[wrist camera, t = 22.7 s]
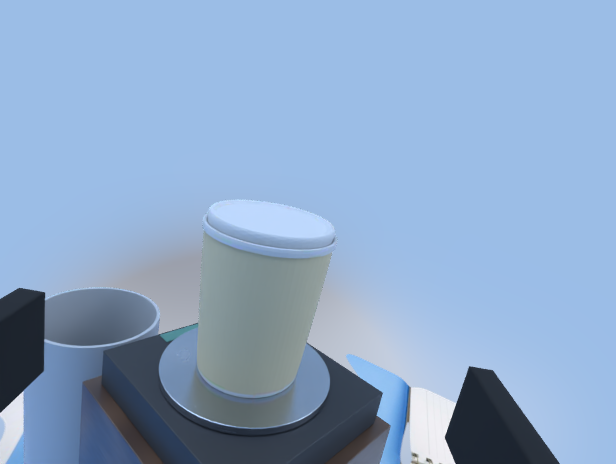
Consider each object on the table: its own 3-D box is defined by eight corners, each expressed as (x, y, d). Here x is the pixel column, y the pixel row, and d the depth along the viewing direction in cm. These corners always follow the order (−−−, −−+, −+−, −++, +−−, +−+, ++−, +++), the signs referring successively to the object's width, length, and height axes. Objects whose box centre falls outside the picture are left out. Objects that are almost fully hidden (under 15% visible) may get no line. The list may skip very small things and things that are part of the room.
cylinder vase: (162, 477, 54) (182, 308, 47) (87, 571, 42) (100, 364, 35) (85, 442, 56) (94, 278, 50) (-5, 521, 45) (-10, 320, 38)
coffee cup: (328, 366, 33) (361, 227, 30) (256, 429, 25) (291, 249, 22) (241, 321, 38) (262, 195, 34) (157, 362, 30) (173, 203, 26)
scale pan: (361, 386, 33) (362, 380, 32) (231, 472, 23) (233, 463, 23) (255, 314, 40) (256, 309, 40) (125, 355, 31) (125, 348, 30)
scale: (374, 423, 33) (383, 392, 32) (226, 544, 22) (234, 501, 21) (248, 332, 43) (252, 306, 42) (100, 383, 32) (103, 349, 31)
